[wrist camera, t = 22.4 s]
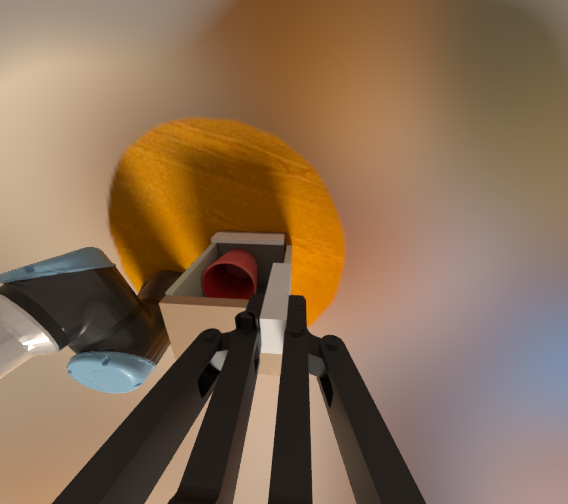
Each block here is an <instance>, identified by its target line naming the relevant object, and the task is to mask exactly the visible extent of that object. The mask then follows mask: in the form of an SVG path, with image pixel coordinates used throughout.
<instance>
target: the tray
mask: <svg viewBox="0 0 568 504" xmlns="http://www.w3.org/2000/svg"><path fill="white" fill-rule="evenodd" d="M211 243H218V245H219V253H220V257H222V256H223V255H224V254H226V253H227V252H229V251H231V250H233V249H245V250H247V251H249V252H250V253H252V254H253V255H254V257H255V259H256V261H257V291H256V294H266V290H267V286H268V282H269V278H270V274H271V270H272V266H273V263H284V244H285V233H267V232H237V231H218V232H217V233H216V234H215V235H214V236H213V237H212V238H211Z"/></svg>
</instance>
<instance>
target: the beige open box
mask: <svg viewBox="0 0 568 504" xmlns="http://www.w3.org/2000/svg"><path fill="white" fill-rule="evenodd" d="M219 258H220V256H219V248H218V243H211V244H210V245H209V246H208V248H207V249H206V250H205V251H204V252H203V253H202V254H201V255H200V256H199V257H198V258H197V259H196V260H195V261H194V262H193V263H192V265H191V266H190V267H189V268H188V269H187V270H186V271H185V272H184V273H183V274H182V275H181V276H180V277H179V278H178V279H177V280H176V282H175V283H174V284H173V285H172V286H171V287H170V288H169V289H168V290H167V291H166V292H165V294H166V296H165V297H164V298H163V299H162V300H161V301H160V302H159V306H160V309H161V312H162V316H163V319H164V322H165V326H166V329H167V332H168V336H169V339H170V342H171V346H172V349H173V352H174V356H175V359H176V360H177V359H178V358H179V357H180V356H181V355H182V354H183V352H184V351H185V350H186V349H187V348H188V347H189V346H190V344H191V343H192V342H193V341H194V340H195V339H196V337H197V336H198V335H199V334H200V333H201V332H202V331H204V330H206V329H210V328H216V329H218V330H220V332H221V333H225V332H230V331H233V330H235V329H236V325H235V316H236V315H237V314H238V313H240V312H242V311H245V310H246V308H247V304H248V302H249V300H245V299H226V298H207V297H206V296H205V294H204V292H203V290H202V286H201V279H202V275H203V273H204V272H205V270H206V269H207V268H208V267H209V266H210V265H211V264H213V263H214V262H215V261H217V260H218V259H219ZM284 263H288V264H291V271H292V245H287V247H286V253H285V260H284ZM290 295H291V291H290ZM281 363H282V354H271V353H261V351H260V364H259V369H258V374H272V375H280V374H281Z"/></svg>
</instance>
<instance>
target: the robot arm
mask: <svg viewBox="0 0 568 504" xmlns="http://www.w3.org/2000/svg"><path fill="white" fill-rule="evenodd" d="M181 275H182V274H181V273H178V272H174V271H160V272H157V273H155V274H153V275H152V276H151V277H150V278H148V279H147V280H146V281H145V282H144V284H143V285H142V287H141V290H140V292H139V293H138V295H136V294H135V292H134V291H133V290H132V288H131V287H130V286H129V284H128V283H127V282H126V280H125V279H124V277H123V276H122V275H121V273H120V272H119V271H118V269H117V268H116V265H115V264H114V263H112V262H111V261H110V260H109V258H108V257H107V256H106V255H105V254H104V252H103V251H101V250H100V249H98V248H95V247H86V248H82V249H79V250H76V251H73V252H69V253H66V254H63V255H60V256H57V257H53V258H50V259H47V260H43V261H40V262H37V263H34V264H31V265H28V266H24V267H21V268H18V269H15V270H11V271H8V272H5V273H2V274H0V283H2V284H4V285H2V286H1V287H0V378H2V377H4V376H5V375H6V374H8V373H9V372H11V371H12V370H14V369H15V368H17V367H18V366H19V365H21V364H22V363H24V362H25V361H26V360H28V359H29V358H31V357H34V356H38V355H46V354H47V355H48V354H55V353H57V352H59V351H60V350H61V349H63V348H64V347H65V346H67V345H68V346H69V347H70V348H71V349H72V350H73V351H74V352H75V353H76V355H75V356H73V357H72V358H71V359H70V361H69V363H68V365H67V369H68V373H69V375H70V376H71V377H72V378H73V379H75V380H76V381H77V382H79V383H81V384H82V385H84V386H86V387H89V388H91V389H94V390H98V391H102V392H107V393H126V392H130V391H133V390H135V389H137V388H138V387H140V385H142V384H143V383H144V381H145V380H146V379H147V377H148V376H149V375H150V374H151V372H152V371H154V370H155V367H156V364H157V363H158V362H159V360H160V359H161V357H162V356H163V354H164V353H165V351H166V350H167V348H168V347H169V345H170V344H171V342H170V339H169V336H168V332H167V329H166V326H165V322H164V319H163V316H162V312H161V309H160V306H159V302H160V301H161V300H162V299H163V298H164V297H165V296H166V294H165V292H166V291H167V290H168V289H169V288H170V287H171V286H172V285H173V284H174V283H175V282H176V280H177V279H178V278H179V277H180V276H181ZM290 291H291V264H288V263H273V266H272V270H271V274H270V278H269V282H268V286H267V290H266V294H253V295H252V296H251V297H250V299H249V302H248V304H247V308H246V310H245V311H242V312H240V313H238V314H237V315H236V316H235V325H236V329H235V330H233V331H230V332H225V333H221V332H220V330H218V329H216V328H210V329H206V330H204V331H202V332H201V333H200V334H199V335H198V336H197V337H196V339H195V340H194V341H193V342H192V343H191V344H190V346H189V347H188V348H187V349H186V350H185V351H184V352H183V354H182V355H181V356H180V357H179V358H178V359H177V360H176V362H175V363H174V364H173V365H172V366H171V367H170V369H169V370H168V371H167V372H166V373H165V374H164V375H163V377H162V378H161V379H160V380H159V381H158V382H157V384H156V385H155V386H154V387H153V388H152V389H151V390H150V391H149V393H148V394H147V395H146V396H145V397H144V398H143V400H142V401H141V402H140V403H139V404H138V405H137V407H136V408H135V409H134V410H133V411H132V412H131V413H130V414H129V416H128V417H127V418H126V419H125V420H124V421H123V422H122V424H121V425H120V426H119V427H118V428H117V430H115V432H114V433H113V434H112V435H111V436H110V437H109V439H108V440H107V441H106V442H105V443H104V444H103V445H102V447H101V448H100V449H99V450H98V451H97V452H96V454H95V455H94V456H93V457H92V458H91V459H90V461H88V463H87V464H86V465H85V466H84V467H83V468H82V470H81V471H80V472H79V473H78V474H77V475H76V476H75V478H74V479H73V480H72V481H71V482H70V483H69V485H68V486H67V487H66V488H65V489H64V490H63V491H62V493H61V494H60V495H59V496H58V497H57V498H56V499H55V501H54V502H53V503H52V504H144V503H145V502H146V500H147V498H148V497H149V495H150V494H151V492H152V490H153V489H154V487H155V485H156V484H157V482H158V480H159V479H160V477H161V475H162V474H163V472H164V471H165V469H166V467H167V466H168V464H169V463H170V461H171V459H172V458H173V456H174V454H175V453H176V451H177V449H178V448H179V446H180V444H181V443H182V441H183V440H184V438H185V436H186V435H187V433H188V431H189V430H190V428H191V426H192V425H193V423H194V421H195V420H196V418H197V417H198V415H199V413H200V411H201V410H202V408H203V407H204V405H205V404H206V402H207V400H208V399H209V397H210V395H211V394H212V392H213V394H212V396H211V399H210V402H209V405H208V408H207V410H206V413H205V416H204V419H203V422H202V425H201V427H200V430H199V433H198V436H197V438H196V441H195V444H194V447H193V449H192V452H191V455H190V458H189V461H188V463H187V466H186V469H185V472H184V475H183V477H182V480H181V483H180V486H179V488H178V490H177V492H176V494H175V495H174V496H173V497H172V498H171V499H170V500H169V502H168V504H233V499H234V494H235V489H236V484H237V478H238V473H239V468H240V462H241V457H242V452H243V447H244V442H245V436H246V431H247V426H248V421H249V416H250V410H251V405H252V400H253V395H254V390H255V384H256V379H257V374H258V369H259V364H260V351H261V353H271V354H282V363H281V374H280V384H279V395H278V406H277V415H276V427H275V437H274V447H273V457H272V469H271V479H270V488H269V498H268V504H312V474H311V473H312V470H311V437H310V401H309V373H310V374H312V375H315V376H317V380H318V383H319V386H320V389H321V393H322V396H323V399H324V402H325V405H326V408H327V412H328V415H329V418H330V421H331V424H332V427H333V431H334V434H335V437H336V440H337V443H338V446H339V449H340V453H341V456H342V459H343V462H344V465H345V468H346V471H347V475H348V478H349V481H350V484H351V487H352V490H353V493H354V497H355V500H356V503H357V504H426V503H425V501H424V498H423V496H422V495H421V493H420V491H419V489H418V487H417V485H416V483H415V481H414V479H413V477H412V475H411V473H410V471H409V469H408V467H407V465H406V463H405V461H404V460H403V458H402V455H401V454H400V452H399V450H398V448H397V446H396V444H395V442H394V440H393V438H392V436H391V434H390V432H389V430H388V428H387V426H386V424H385V422H384V420H383V418H382V416H381V414H380V413H379V410H378V409H377V407H376V405H375V403H374V401H373V399H372V397H371V395H370V393H369V391H368V389H367V387H366V385H365V383H364V381H363V379H362V377H361V375H360V373H359V372H358V369H357V368H356V366H355V364H354V362H353V360H352V358H351V356H350V354H349V352H348V350H347V348H346V346H345V344H344V342H343V341H342V340H341V339H340V338H338V337H337V336H334V335H326V336H324V337H322V338H319V337H316V336H314V335H312V334H311V333H310V332H309V331H308V329H307V321H306V300H305V298H304V297H303V296H299V295H290ZM213 390H214V391H213Z"/></svg>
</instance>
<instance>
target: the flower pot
mask: <svg viewBox="0 0 568 504" xmlns="http://www.w3.org/2000/svg"><path fill="white" fill-rule="evenodd" d="M201 286H202V290H203V292H204V294H205V296H206V297H207V298H226V299H245V300H249V299H250V297H251V296H252V295H253V294H256V291H257V261H256V259H255V257H254V255H253V254H252V253H250V252H249V251H247V250H245V249H233V250H231V251H229V252H227V253H226V254H224V255H223V256H222V257H220V258H219V259H218V260H217V261H215V262H214V263H213V264H211V265H210V266H209V267H208V268H207V269H206V270H205V272H204V273H203V275H202V279H201Z"/></svg>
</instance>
